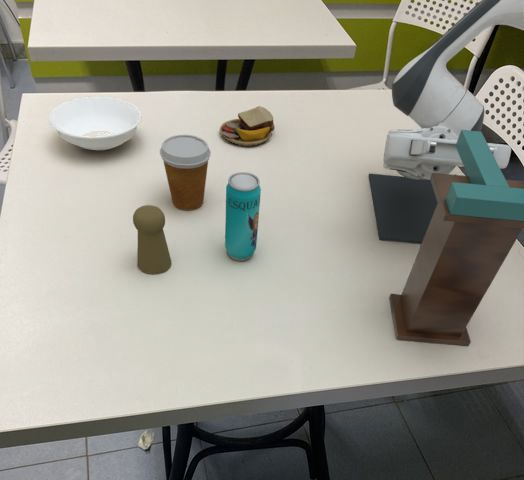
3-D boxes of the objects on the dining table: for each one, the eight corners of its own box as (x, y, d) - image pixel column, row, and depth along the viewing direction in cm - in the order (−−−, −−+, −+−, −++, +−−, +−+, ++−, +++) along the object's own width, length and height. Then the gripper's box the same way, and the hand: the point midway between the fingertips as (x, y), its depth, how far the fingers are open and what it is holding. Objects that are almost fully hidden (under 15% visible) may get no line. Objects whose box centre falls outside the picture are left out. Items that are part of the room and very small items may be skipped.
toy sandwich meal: (213, 125, 123) (213, 106, 119) (264, 121, 127) (265, 102, 123) (228, 150, 116) (229, 130, 112) (281, 144, 119) (284, 125, 116)
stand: (458, 303, 87) (523, 181, 69) (471, 346, 81) (547, 223, 62) (386, 297, 87) (432, 172, 68) (393, 339, 80) (445, 214, 62)
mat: (437, 182, 113) (437, 179, 113) (458, 247, 98) (460, 244, 97) (368, 175, 113) (368, 173, 112) (379, 239, 97) (380, 237, 97)
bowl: (58, 170, 105) (51, 141, 100) (52, 126, 117) (45, 98, 112) (152, 160, 110) (149, 133, 105) (136, 120, 122) (133, 93, 117)
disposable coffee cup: (218, 209, 100) (218, 153, 91) (173, 219, 97) (169, 162, 88) (200, 185, 105) (199, 130, 96) (157, 193, 102) (152, 137, 93)
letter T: (503, 150, 74) (511, 134, 72) (543, 223, 62) (553, 206, 60) (425, 142, 74) (431, 126, 72) (449, 214, 62) (457, 197, 60)
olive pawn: (129, 264, 87) (120, 211, 79) (153, 248, 91) (147, 195, 82) (155, 279, 85) (148, 226, 77) (178, 261, 89) (174, 209, 80)
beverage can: (249, 266, 89) (254, 193, 78) (219, 257, 90) (220, 184, 79) (260, 248, 93) (266, 176, 81) (231, 240, 94) (234, 167, 82)
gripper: (485, 177, 90) (523, 178, 77) (374, 167, 89) (393, 165, 76) (494, 140, 88) (534, 134, 74) (380, 129, 87) (400, 121, 74)
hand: (461, 150), depth 75 cm, fingers open, 8 cm apart
